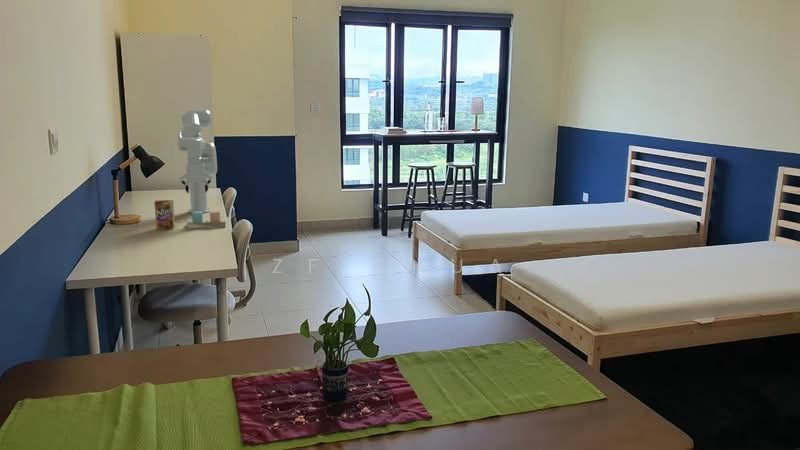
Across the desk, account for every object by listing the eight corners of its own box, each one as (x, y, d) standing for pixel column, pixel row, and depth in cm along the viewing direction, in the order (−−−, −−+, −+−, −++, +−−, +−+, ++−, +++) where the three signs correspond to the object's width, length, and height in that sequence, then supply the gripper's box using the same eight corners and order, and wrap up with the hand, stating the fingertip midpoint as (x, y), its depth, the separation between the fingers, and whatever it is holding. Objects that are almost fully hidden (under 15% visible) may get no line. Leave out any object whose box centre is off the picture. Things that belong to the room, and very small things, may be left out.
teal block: (194, 221, 347) (193, 207, 345) (203, 221, 348) (203, 207, 346) (192, 228, 332) (191, 213, 330) (202, 227, 334) (201, 213, 332)
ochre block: (211, 225, 340) (210, 210, 338) (220, 224, 341) (219, 210, 339) (210, 227, 335) (209, 212, 333) (220, 226, 336) (219, 212, 334)
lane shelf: (188, 224, 340) (188, 219, 339) (225, 223, 344) (225, 217, 344) (187, 229, 330) (186, 223, 329) (225, 227, 335) (225, 221, 334)
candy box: (156, 229, 328) (153, 201, 325) (158, 227, 332) (155, 199, 329) (173, 229, 329) (171, 201, 326) (175, 227, 334) (173, 199, 330)
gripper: (211, 160, 344) (213, 190, 348) (178, 161, 340) (181, 191, 343) (211, 161, 337) (213, 192, 341) (177, 162, 333) (180, 194, 336)
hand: (197, 192), depth 342 cm, fingers open, 9 cm apart
